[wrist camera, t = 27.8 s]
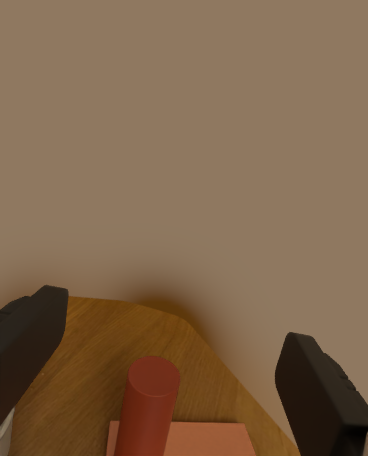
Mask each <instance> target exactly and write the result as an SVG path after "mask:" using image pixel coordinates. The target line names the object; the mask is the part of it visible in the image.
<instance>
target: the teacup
mask: <svg viewBox="0 0 368 456" xmlns="http://www.w3.org/2000/svg"><path fill="white" fill-rule="evenodd" d="M14 411H15V407H14V408H13V409H12V411H11V412H10V413H9V415H8V416H7V418H6V419H5V420H4V422H3V423H2V424H1V426H0V456H8V453H9V448H10V442H11V433H12V421H13V415H14Z"/></svg>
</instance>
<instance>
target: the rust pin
mask: <svg viewBox="0 0 368 456" xmlns="http://www.w3.org/2000/svg"><path fill="white" fill-rule="evenodd" d="M179 385H180V374H179V371H178V369H177V368H176V367H175V366H174V365H173V364H172V363H171V362H170V361H168V360H166V359H164V358H161V357H155V356H147V357H143V358H140V359H138V360H136V361H135V362H134V363H132V365H131V366H130V368H129V370H128V375H127V381H126V387H125V392H124V398H123V404H122V410H121V416H120V422H119V427H118V433H117V439H116V445H115V451H114V456H163V455H164V451H165V447H166V442H167V438H168V433H169V429H170V424H171V420H172V416H173V411H174V407H175V402H176V398H177V394H178V389H179Z"/></svg>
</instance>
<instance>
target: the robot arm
mask: <svg viewBox="0 0 368 456" xmlns="http://www.w3.org/2000/svg"><path fill="white" fill-rule="evenodd" d="M67 304H68V290H67V289H65V288H60V287H54V286H49V285H45V286H43V287H42V288H41V289H39V290H38V291H37V292H36V293H35V294H34V295H32V296H31V297H29V296H24V297H22V298H19V299H17V300H14V301H12V302H10V303H8V304H7V305H6V306H5V307H3V308H2V309H1V310H0V426H1V424H2V423H3V422H4V420H5V419H6V418H7V416H8V415H9V413H10V412H11V411H12V409H13V408H14V407H15V405H16V404H17V402H18V401H19V400H20V398H21V397H22V395H23V394H24V393H25V391H26V390H27V389H28V387H29V386H30V384H31V383H32V382H33V380H34V379H35V378H36V376H37V375H38V373H39V372H40V371H41V369H42V368H43V366H44V365H45V364H46V362H47V361H48V360H49V358H50V357H51V355H52V354H53V353H54V351H55V350H56V348H57V347H58V346H59V344H60V342H61V340H62V337H63V334H64V331H65V324H66V314H67ZM275 384H276V388H277V391H278V394H279V396H280V399H281V402H282V405H283V407H284V410H285V413H286V416H287V419H288V421H289V424H290V427H291V430H292V432H293V435H294V437H295V440H296V443H297V446H298V449H299V452H300V454H301V456H368V405H367V403H366V402H365V400H364V399H363V398H362V396H361V395H360V393H359V392H358V391H356V388H355V386H354V385H353V384H352V382H351V381H350V380H348V376H347V375H346V374H345V372H344V371H343V369H342V368H341V367H340V365H339V364H337V363H336V362H335V361H334V360H333V359H332V358H330V356H328V355H327V354H326V353H323V351H322V350H321V348H320V347H319V345H318V344H317V342H316V341H315V339H314V338H313V337H311V336H308V335H303V334H298V333H293V332H289V333H288V334H287V336H286V338H285V341H284V344H283V347H282V351H281V354H280V357H279V360H278V363H277V366H276V370H275Z"/></svg>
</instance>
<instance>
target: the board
mask: <svg viewBox="0 0 368 456" xmlns="http://www.w3.org/2000/svg"><path fill="white" fill-rule="evenodd" d="M119 422H120V421H110V425H109V433H108V442H107V450H106V456H114V451H115V445H116V439H117V433H118V427H119ZM163 456H256V454H255V452H254V449H253V446H252V443H251V441H250V438H249V435H248V433H247V430H246V427H245V425H244V423H201V422H171V424H170V429H169V433H168V438H167V442H166V447H165V451H164V455H163Z"/></svg>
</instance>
